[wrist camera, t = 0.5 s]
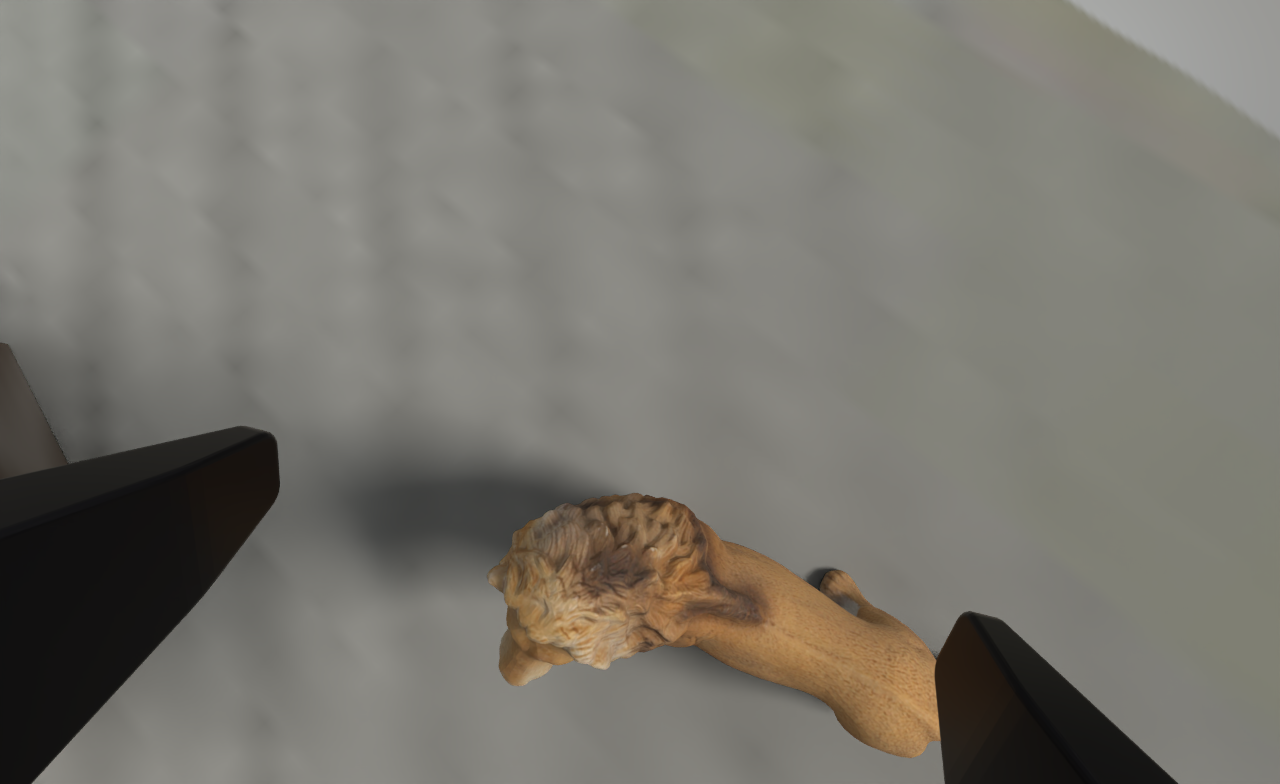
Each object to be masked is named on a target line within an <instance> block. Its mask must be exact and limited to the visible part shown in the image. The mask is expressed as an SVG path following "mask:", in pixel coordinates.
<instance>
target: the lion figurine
mask: <svg viewBox="0 0 1280 784" xmlns="http://www.w3.org/2000/svg"><path fill="white" fill-rule="evenodd" d="M487 578H488V582H489V583H490V584H491V585H493V586H494V587H495V588H496V589H498V590H499V591H501V592H502V593H503V594H504V599H505V602H506V604H507V605H508V609H507V617H506V620H507V626H508V630H507V631H506V632H505V634H504V635H503V637H502V639H501V644H500V660H499V670H500V672H501V674H502V676H503V677H504V679H505V680H506V681H507V682H508V683H509V684H511V685H513V686H523V685H525V684H527V683H528V682H529V681H530V680H534V679H537V678H539V677H541V676H543V675H544V674H546V673H547V672H548V671H549V669H550V668H551V667H552V665H562V664H566V663H568V662H570V661H573V660H575V661H577V662H578V663H582V664H589V665H591V666H592V667H594V668H598V669H602V670H606V669H607V668H609V666H610V662H612V661H614V660H616V659H618V658H629V657H631V656H633V655H634V654H635V653H637V652H646V651H649V650H652V649H654V648H656V647H660V646H662V645H664V644H665V645H669V646H673V647H687V646H691V645H694V646H697V647H699V648H700V649H702V650H703V651H705V652H706V653H708V654H710V655H711V656H713V657H715V658H716V659H718V660H720V661H721V662H723V663H725V664H727V665H729V666H731V667H733V668H735V669H737V670H740V671H743V672H745V673H748V674H750V675H753V676H756V677H758V678H761V679H765V680H768V681H771V682H774V683H777V684H781V685H784V686H788V687H791V688H795V689H798V690H801V691H804V692H806V693H809V694H811V695H813V696H815V697H817V698H818V699H820V700H822V701H823V702H825V703H826V704H827V705H828V706H829V707H830V708H832V710H833V711H834V713H835V716H836V718H837V720H838V721H839V723H840V724H841V725H842V726H843V728H844V729H845V730H846V731H848V732H849V733H850V734H851V735H852V736H853V737H855V738H856V739H858V740H859V741H861V742H862V743H864V744H866V745H868V746H871V747H873V748H876V749H878V750H881V751H884V752H886V753H889V754H893V755H896V756H900V757H907V758H912V757H916V756H919V755H920V754H921V753H922V752H923V751H924V750H925V748H926V746H927V744H928V743H929V742H930V741H941V740H940V730H939V719H938V709H937V699H936V689H935V678H934V672H935V664H936V659H935V658H934V656H933V655H932V653H931V652H930V650H929V649H928V647H927V646H926V645H925V643H924V642H923V641H922V640H921V639H920V638H919V637H918V636H917V635H916V634H915V633H914V632H913V631H912V630H911V629H909V628H908V627H907V626H906V625H904V624H903V623H901V622H900V621H899V620H897V619H896V618H894V617H893V616H891V615H889V614H887V613H886V612H884V611H882V610H880V609H878V608H875V607H874V606H872V605H871V604H870V603H869V602H868V601H867V600H866V599H865V598H864V597H863V595H862V594H861V592H860V591H859V589H858V587H857V586H856V584H855V583H854V581H853V580H852V579H851V577H850V576H849V575H848V574H847V573H845V572H843V571H841V570H833V571H829V572H827V573H826V574H825V576H824V578H823V580H822V582H821V584H820V591H819V590H817V589H816V588H814V587H813V586H811V585H810V584H808V583H807V582H805V581H804V580H802V579H801V578H799V577H798V576H796V575H795V574H794V573H792V572H791V571H789V570H788V569H787V568H785V567H784V566H782V565H780V564H779V563H777V562H775V561H774V560H772V559H770V558H768V557H767V556H764V555H762V554H760V553H758V552H756V551H753V550H751V549H749V548H746V547H744V546H741V545H738V544H734V543H731V542H727V541H723V540H720V539H719V537H718V536H717V534H716V533H715V532H714V531H713V530H712V529H711V528H710V527H709V526H708V525H706V524H705V523H704V522H702V521H700V520H698V519H697V518H696V517H695V515H694V513H693V512H692V511H691V510H690V509H689V508H688V507H687V506H685V505H684V504H681V503H678V502H675V501H673V500H671V499H667V498H663V497H661V498H655V497H652V496H649V495H645V496H642V495H641V494H639V493H632V494H629V495H624V496H619V495H613V496H602V497H601V498H600V499H596V498H590V499H587V500H584V501H583V502H582V503H581V504H578V505H572V504H570V503H565V504H561V505H560V506H558V507H556V509H555V510H549V511H548V512H546V513H545V514H544V515H543V517H540V518H538V519H535V520H530V521H529V522H528V523H527V524H526V525H525V526H524V527H523V528H522V529H520V530H517V531H515V532H514V533H513V536H512V546H511V548H510V550H509V552H508V553H507V555H506V556H505V557H504V558H503V559H502V560H501V561H500V563H499V565H498V566H495V567H494V568H492V569H491V570H490V571H489V573H488V575H487Z"/></svg>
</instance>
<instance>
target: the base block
mask: <svg viewBox="0 0 1280 784" xmlns="http://www.w3.org/2000/svg"><path fill="white" fill-rule="evenodd" d="M66 464H68V463H67V461H66V459H65V457H64V455H63V453H62V451H61V449H60V447H59V445H58V443H57V441H56V439H55V437H54V435H53V433H52V431H51V429H50V427H49V425H48V423H47V421H46V419H45V417H44V415H43V413H42V411H41V409H40V407H39V405H38V403H37V401H36V399H35V397H34V395H33V393H32V391H31V389H30V387H29V385H28V383H27V381H26V379H25V377H24V375H23V373H22V371H21V369H20V367H19V365H18V363H17V361H16V359H15V357H14V355H13V353H12V351H11V349H10V347H9V345H8V344H4V343H0V479H3V478H7V477H12V476H16V475H21V474H25V473H30V472H34V471H39V470H43V469H48V468H52V467H57V466H61V465H66Z"/></svg>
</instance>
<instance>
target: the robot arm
mask: <svg viewBox="0 0 1280 784" xmlns="http://www.w3.org/2000/svg"><path fill="white" fill-rule="evenodd" d="M279 488H280V477H279V462H278V447H277V441H276V439H275V437H274V435H272V434H271V433H270V432H267V431H263V430H259V429H255V428H251V427H247V426H237V427H233V428H228V429H224V430H219V431H215V432H210V433H206V434H201V435H197V436H192V437H188V438H183V439H179V440H174V441H170V442H165V443H161V444H156V445H152V446H147V447H143V448H138V449H134V450H129V451H124V452H120V453H115V454H111V455H106V456H102V457H97V458H93V459H88V460H84V461H79V462H75V463H70V464H66V465H61V466H57V467H52V468H48V469H43V470H39V471H34V472H30V473H25V474H21V475H16V476H12V477H7V478H3V479H0V784H32V783H33V781H34V780H35V779H36V778H37V777H38V776H39V775H40V774H41V773H42V772H43V771H44V769H45V768H46V767H47V766H48V765H49V764H50V763H51V762H52V761H53V760H54V759H55V757H56V756H57V755H58V754H59V753H60V752H61V751H62V750H63V749H64V748H65V747H66V746H67V744H68V743H69V742H70V741H71V740H72V739H73V738H74V737H75V736H76V735H77V734H78V732H79V731H80V730H81V729H82V728H83V727H84V726H85V725H86V724H87V723H88V722H89V721H90V719H91V718H92V717H93V716H94V715H95V714H96V713H97V712H98V711H99V710H100V709H101V707H102V706H103V705H104V704H105V703H106V702H107V701H108V700H109V699H110V698H111V697H112V695H113V694H114V693H115V692H116V691H117V690H118V689H119V688H120V687H121V686H122V685H123V684H124V682H125V681H126V680H127V679H128V678H129V677H130V676H131V675H132V674H133V673H134V672H135V670H136V669H137V668H138V667H139V666H140V665H141V664H142V663H143V662H144V661H145V660H146V658H147V657H148V656H149V655H150V654H151V653H152V652H153V651H154V650H155V649H156V648H157V647H158V645H159V644H160V643H161V642H162V641H163V640H164V639H165V638H166V637H167V636H168V635H169V633H170V632H171V631H172V630H173V629H174V628H175V627H176V626H177V625H178V624H179V623H180V621H181V620H182V619H183V618H184V617H185V616H186V615H187V614H188V613H189V612H190V611H191V609H192V608H193V607H194V606H195V605H196V604H197V603H198V601H199V600H200V599H201V598H202V597H203V596H204V594H205V593H206V592H207V591H208V589H209V588H210V587H211V586H212V584H213V583H214V582H215V581H216V579H217V578H218V577H219V575H220V574H221V573H222V571H223V570H224V569H225V567H226V566H227V565H228V563H229V562H230V561H231V559H232V558H233V557H234V555H235V554H236V553H237V551H238V550H239V549H240V547H241V546H242V545H243V544H244V542H245V541H246V540H247V538H248V537H249V536H250V534H251V533H252V532H253V530H254V529H255V528H256V526H257V525H258V524H259V522H260V521H261V520H262V518H263V517H264V516H265V514H266V513H267V512H268V510H269V509H270V508H271V506H272V505H273V503H274V502H275V500H276V498H277V496H278V493H279ZM934 678H935V689H936V699H937V709H938V719H939V730H940V740H941V750H942V760H943V770H944V780H945V784H1178V783H1177V782H1176V781H1175V780H1174V779H1173V778H1172V777H1171V776H1170V775H1168V774H1167V773H1166V772H1165V771H1164V770H1163V769H1162V768H1161V767H1160V766H1159V765H1158V764H1157V763H1156V762H1154V761H1153V760H1152V759H1151V758H1150V757H1149V756H1148V755H1147V754H1146V753H1145V752H1144V751H1143V750H1142V749H1140V748H1139V747H1138V746H1137V745H1136V744H1135V743H1134V742H1133V741H1132V740H1131V739H1130V738H1129V737H1128V736H1126V735H1125V734H1124V733H1123V732H1122V731H1121V730H1120V729H1119V728H1118V727H1117V726H1116V725H1115V724H1114V723H1112V722H1111V721H1110V720H1109V719H1108V718H1107V717H1106V716H1105V715H1104V714H1103V713H1102V712H1101V711H1100V710H1098V709H1097V708H1096V707H1095V706H1094V705H1093V704H1092V703H1091V702H1090V701H1089V700H1088V699H1087V698H1086V697H1084V696H1083V695H1082V694H1081V693H1080V692H1079V691H1078V690H1077V689H1076V688H1075V687H1074V686H1073V685H1071V684H1070V683H1069V682H1068V681H1067V680H1066V679H1065V678H1064V677H1063V676H1062V675H1061V674H1060V673H1059V672H1057V671H1056V670H1055V669H1054V668H1053V667H1052V666H1051V665H1050V664H1049V663H1048V662H1047V661H1046V660H1045V659H1043V658H1042V657H1041V656H1040V655H1039V654H1038V653H1037V652H1036V651H1035V650H1034V649H1033V648H1032V647H1031V646H1029V645H1028V644H1027V643H1026V642H1025V641H1024V640H1023V639H1022V638H1021V637H1020V636H1019V635H1018V634H1017V633H1015V632H1014V631H1013V630H1012V629H1011V628H1010V627H1009V626H1008V625H1007V624H1006V623H1005V622H1003V621H1002V620H1000V619H998V618H995V617H992V616H988V615H984V614H980V613H976V612H972V611H968V612H964V613H963V614H962V615H960V617H959V618H958V619H957V621H956V623H955V625H954V627H953V629H952V631H951V632H950V634H949V636H948V638H947V640H946V642H945V644H944V646H943V648H942V649H941V651H940V653H939V655H938V658H937V660H936V664H935V672H934Z"/></svg>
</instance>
